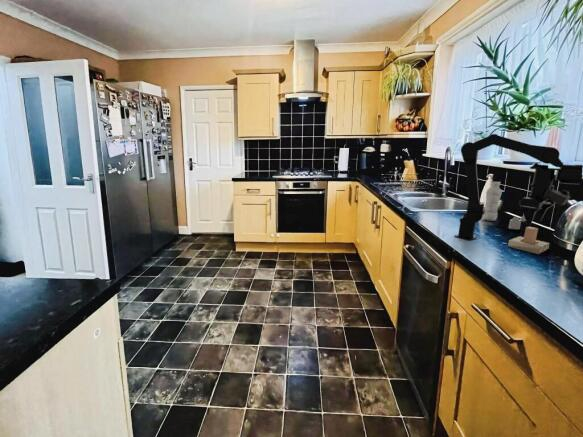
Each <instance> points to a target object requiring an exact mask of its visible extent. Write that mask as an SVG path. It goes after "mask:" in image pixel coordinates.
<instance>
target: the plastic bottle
mask: <svg viewBox="0 0 583 437" xmlns="http://www.w3.org/2000/svg"><path fill="white" fill-rule="evenodd" d="M500 186H501V181H491V182H490V187H489V188H488V189H487V190H486V194H485V195H486V196H485V204H484V209H485V214H483V217H482V220H485V221H487V222H488V221H489V222H493V221H494V222H495V221H496V220H497V218H498V207H499V202H500V199H501V196H502V194H503V193H502V189H501V188H500Z"/></svg>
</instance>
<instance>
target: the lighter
mask: <svg viewBox="0 0 583 437" xmlns="http://www.w3.org/2000/svg"><path fill="white" fill-rule="evenodd" d="M522 222H523V223H525V222H526V219H525V216H524V214H523V215H522V216H521V217H520V218H519V217H513V218H512V219H510V220H509V224H508V229H510V230H520V228H521V223H522Z"/></svg>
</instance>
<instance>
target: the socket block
mask: <svg viewBox="0 0 583 437" xmlns="http://www.w3.org/2000/svg"><path fill="white" fill-rule="evenodd" d="M523 239H524V236H517V237H514V238H511V239H509V240H508V245H507V247H509V248H513V249H517V250H521V251H524V252H525V251H526V252H528V253H532V254H537V255H540V254H542V253H543V252H545V251H547V249H548V250H549V247H550V242H546V241H543V240H542V241H541V240H538V239H536V241H535V244H530V243H526V242H523Z"/></svg>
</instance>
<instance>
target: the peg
mask: <svg viewBox="0 0 583 437" xmlns="http://www.w3.org/2000/svg"><path fill="white" fill-rule="evenodd" d="M538 232H539V228H537V227H534V226H533V227H532V226H526V227H525V230H524V235H523V237H524V239H523V242H526V243H530V244H535V241H536V240H537V235H538Z"/></svg>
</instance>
